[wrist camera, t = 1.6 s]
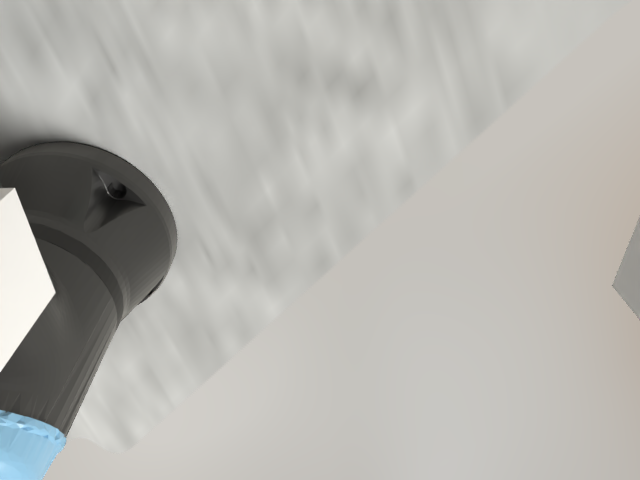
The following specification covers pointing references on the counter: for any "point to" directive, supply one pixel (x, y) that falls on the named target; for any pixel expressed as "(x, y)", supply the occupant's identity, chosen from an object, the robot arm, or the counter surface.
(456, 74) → the counter surface
